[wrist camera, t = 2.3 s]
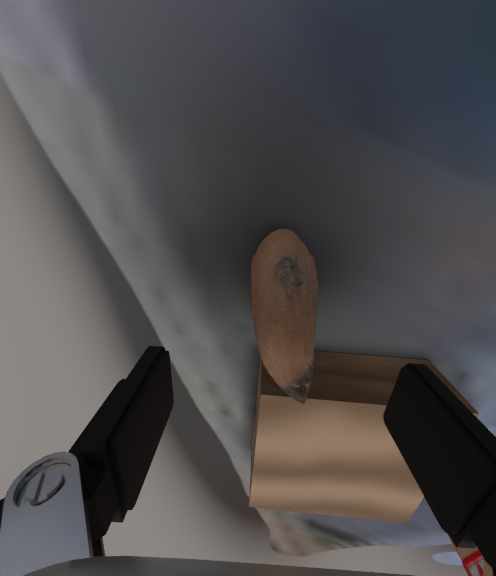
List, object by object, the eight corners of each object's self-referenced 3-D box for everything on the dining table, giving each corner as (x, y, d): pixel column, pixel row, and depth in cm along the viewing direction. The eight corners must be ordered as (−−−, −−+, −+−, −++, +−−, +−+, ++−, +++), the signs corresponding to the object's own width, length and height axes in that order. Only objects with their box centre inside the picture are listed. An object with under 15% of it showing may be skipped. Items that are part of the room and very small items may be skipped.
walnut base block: (261, 346, 20) (261, 394, 16) (428, 360, 20) (478, 413, 15) (251, 449, 26) (249, 506, 21) (381, 462, 25) (406, 523, 21)
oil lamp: (311, 329, 19) (341, 419, 12) (262, 334, 20) (262, 424, 12) (303, 217, 16) (338, 247, 8) (244, 227, 16) (228, 263, 9)
